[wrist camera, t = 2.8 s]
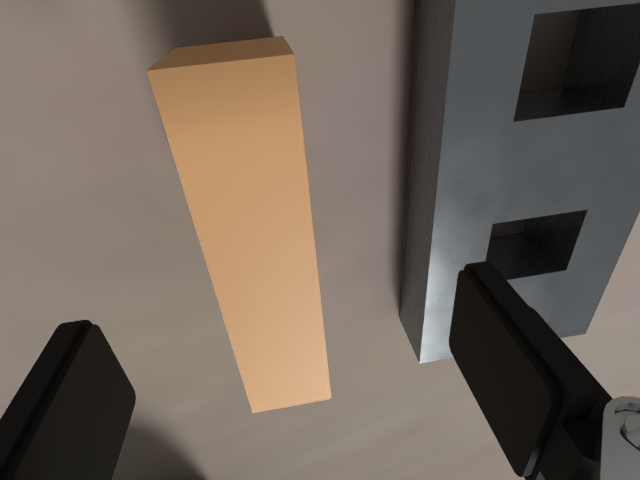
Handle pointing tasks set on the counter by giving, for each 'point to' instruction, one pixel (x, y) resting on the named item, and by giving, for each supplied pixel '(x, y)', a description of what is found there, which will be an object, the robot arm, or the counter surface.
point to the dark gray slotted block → (518, 161)
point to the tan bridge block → (250, 207)
